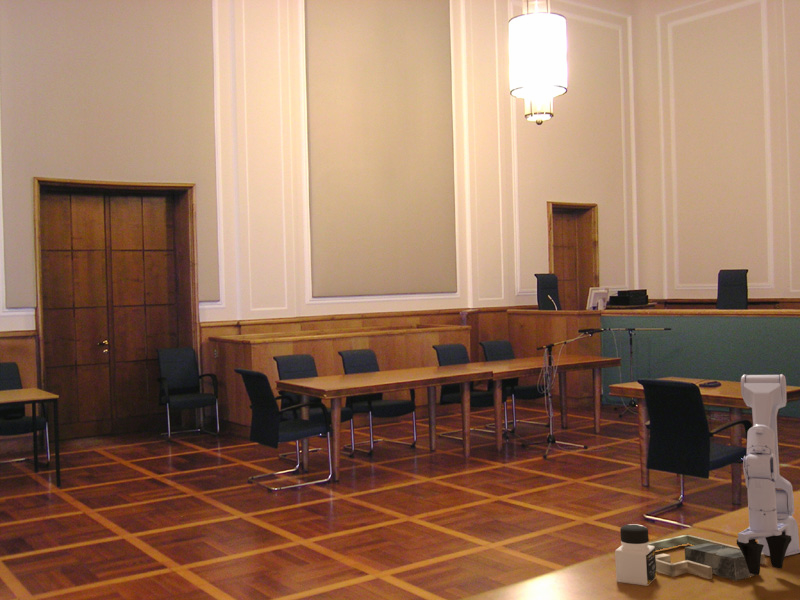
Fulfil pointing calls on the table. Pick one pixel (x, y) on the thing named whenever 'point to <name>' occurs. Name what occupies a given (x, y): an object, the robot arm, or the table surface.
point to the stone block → (719, 560)
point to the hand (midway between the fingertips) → (765, 570)
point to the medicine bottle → (635, 556)
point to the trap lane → (685, 566)
